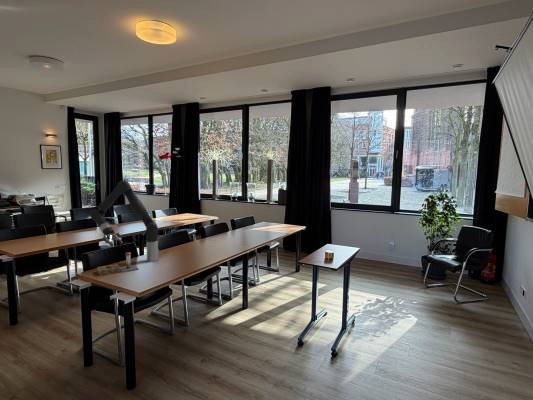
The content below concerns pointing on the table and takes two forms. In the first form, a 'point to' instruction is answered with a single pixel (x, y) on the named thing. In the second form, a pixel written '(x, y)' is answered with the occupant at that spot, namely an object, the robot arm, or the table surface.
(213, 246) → the table surface
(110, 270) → the eye block
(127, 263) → the wheel peg
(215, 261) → the table surface
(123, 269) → the mat
